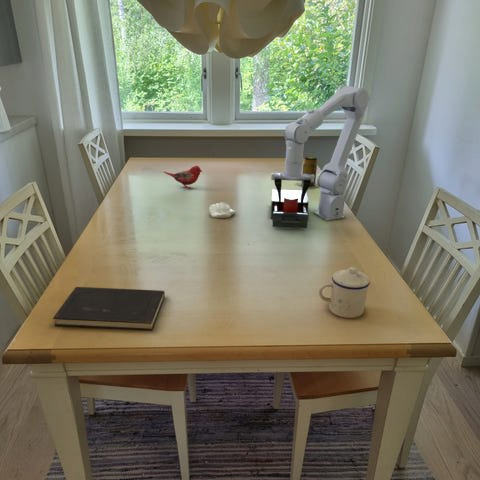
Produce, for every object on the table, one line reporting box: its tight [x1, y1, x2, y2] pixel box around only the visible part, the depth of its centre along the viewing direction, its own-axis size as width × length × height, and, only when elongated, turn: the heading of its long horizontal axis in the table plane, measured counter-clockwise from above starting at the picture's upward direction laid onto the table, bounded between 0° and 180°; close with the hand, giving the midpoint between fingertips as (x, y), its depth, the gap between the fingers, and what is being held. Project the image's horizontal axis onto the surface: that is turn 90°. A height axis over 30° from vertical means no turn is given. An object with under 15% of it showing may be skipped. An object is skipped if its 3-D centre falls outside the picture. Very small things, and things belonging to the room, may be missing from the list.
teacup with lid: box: [318, 266, 371, 319], centre depth 119 cm, size 12×9×12 cm
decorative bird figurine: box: [163, 165, 203, 190], centre depth 204 cm, size 3×18×10 cm, turn 75°
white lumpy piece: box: [208, 201, 236, 219], centre depth 178 cm, size 10×4×10 cm
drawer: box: [272, 203, 309, 229], centre depth 170 cm, size 17×12×5 cm
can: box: [283, 195, 298, 213], centre depth 169 cm, size 5×5×8 cm
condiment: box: [297, 155, 320, 189], centre depth 211 cm, size 7×8×12 cm
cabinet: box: [270, 189, 309, 220], centre depth 180 cm, size 14×13×7 cm
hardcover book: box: [52, 286, 166, 332], centre depth 118 cm, size 16×23×2 cm
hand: (290, 201), depth 168 cm, fingers open, 7 cm apart
